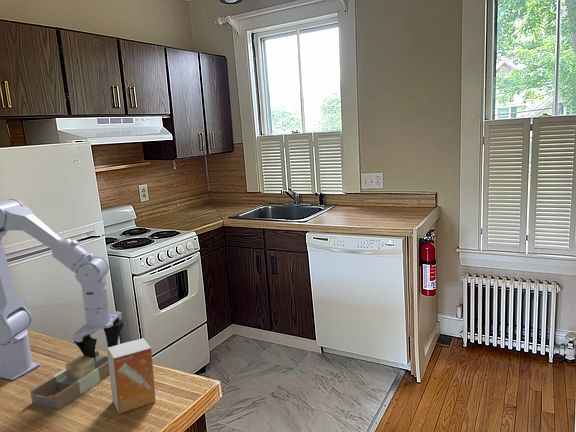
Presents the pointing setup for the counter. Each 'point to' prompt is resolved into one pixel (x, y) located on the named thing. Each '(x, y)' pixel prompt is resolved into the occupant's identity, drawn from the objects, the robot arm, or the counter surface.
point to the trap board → (69, 385)
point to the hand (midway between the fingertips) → (102, 356)
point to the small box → (131, 375)
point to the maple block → (79, 367)
